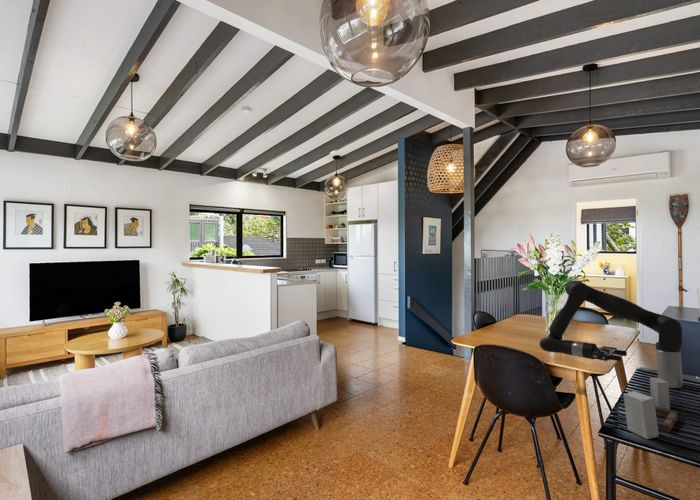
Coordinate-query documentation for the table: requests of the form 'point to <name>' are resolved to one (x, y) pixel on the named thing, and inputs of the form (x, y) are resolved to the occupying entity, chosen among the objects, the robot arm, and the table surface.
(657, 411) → the walnut collar
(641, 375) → the table surface
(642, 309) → the robot arm
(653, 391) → the skincare box
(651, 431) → the skincare box
